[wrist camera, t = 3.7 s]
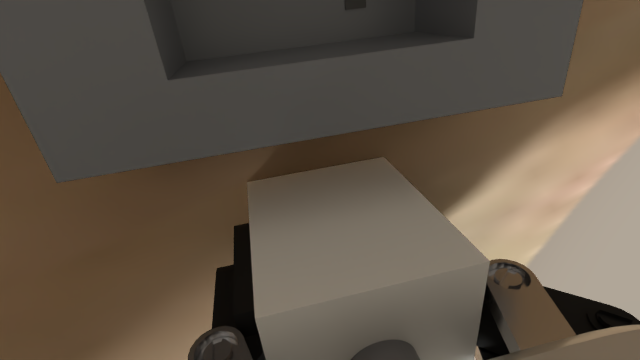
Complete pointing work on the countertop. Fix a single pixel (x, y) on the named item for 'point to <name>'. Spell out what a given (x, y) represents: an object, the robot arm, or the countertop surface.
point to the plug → (360, 268)
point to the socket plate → (263, 71)
